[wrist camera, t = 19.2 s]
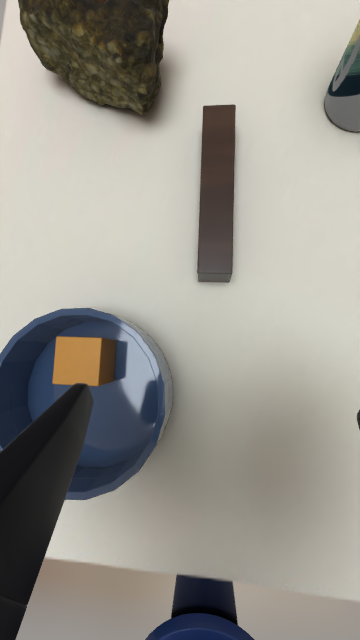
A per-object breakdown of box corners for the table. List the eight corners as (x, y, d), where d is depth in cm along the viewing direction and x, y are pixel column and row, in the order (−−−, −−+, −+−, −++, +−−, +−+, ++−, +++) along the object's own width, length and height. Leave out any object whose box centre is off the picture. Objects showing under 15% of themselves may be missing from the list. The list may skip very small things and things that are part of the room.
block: (114, 381, 23) (98, 386, 19) (74, 379, 23) (51, 384, 20) (116, 339, 23) (101, 337, 20) (77, 338, 23) (55, 336, 20)
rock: (-30, 16, 19) (-8, -119, 18) (33, 103, 28) (50, 16, 27) (150, 76, 20) (180, -49, 19) (155, 141, 29) (175, 58, 28)
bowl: (174, 471, 22) (167, 501, 18) (23, 470, 23) (-20, 498, 19) (170, 313, 23) (163, 304, 19) (29, 319, 25) (-10, 311, 20)
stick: (232, 273, 21) (235, 104, 22) (197, 273, 21) (203, 105, 23) (229, 282, 23) (232, 129, 25) (198, 281, 24) (203, 130, 25)
